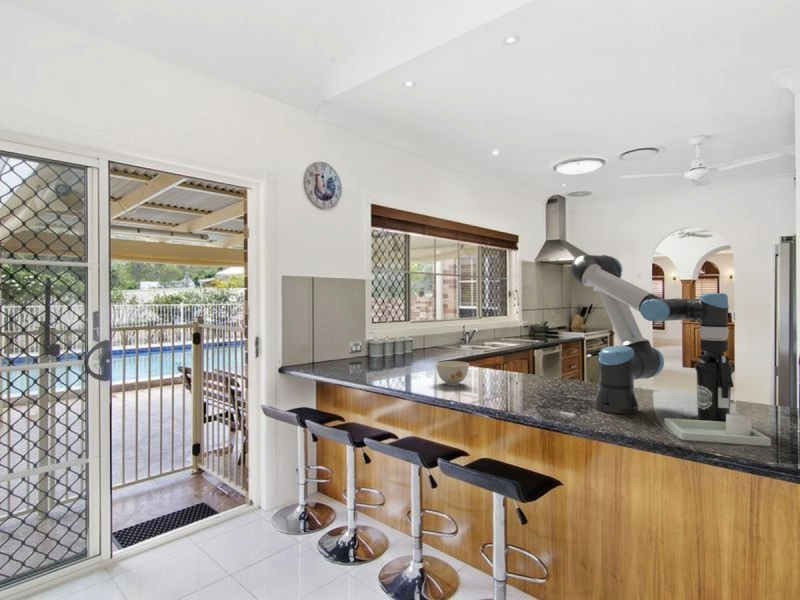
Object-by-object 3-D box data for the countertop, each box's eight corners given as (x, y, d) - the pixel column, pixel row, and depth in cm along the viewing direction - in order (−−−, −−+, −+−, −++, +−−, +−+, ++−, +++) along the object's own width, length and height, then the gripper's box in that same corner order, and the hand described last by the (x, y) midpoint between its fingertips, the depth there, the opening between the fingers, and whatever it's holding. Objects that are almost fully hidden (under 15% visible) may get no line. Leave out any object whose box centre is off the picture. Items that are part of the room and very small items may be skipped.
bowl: (434, 387, 199) (434, 366, 199) (437, 380, 215) (437, 360, 215) (469, 388, 197) (469, 367, 197) (469, 381, 213) (469, 361, 212)
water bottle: (687, 420, 147) (688, 353, 147) (714, 419, 148) (715, 353, 148) (711, 429, 137) (711, 358, 137) (740, 428, 138) (741, 357, 138)
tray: (682, 443, 125) (682, 432, 125) (664, 427, 140) (664, 418, 140) (770, 449, 120) (770, 438, 120) (742, 432, 134) (742, 422, 134)
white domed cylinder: (731, 438, 126) (732, 418, 126) (721, 431, 132) (722, 412, 132) (755, 440, 124) (755, 419, 124) (744, 433, 130) (744, 414, 130)
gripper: (747, 343, 129) (746, 413, 130) (709, 335, 153) (709, 394, 154) (718, 343, 131) (718, 411, 131) (686, 335, 155) (685, 393, 156)
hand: (713, 402), depth 143 cm, fingers open, 13 cm apart
